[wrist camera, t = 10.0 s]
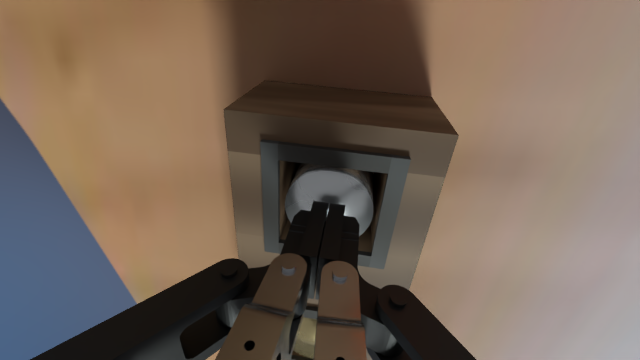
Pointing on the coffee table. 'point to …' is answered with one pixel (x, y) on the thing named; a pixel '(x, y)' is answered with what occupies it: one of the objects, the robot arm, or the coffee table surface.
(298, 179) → the steel peg
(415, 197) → the walnut block
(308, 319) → the brass peg
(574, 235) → the coffee table surface
